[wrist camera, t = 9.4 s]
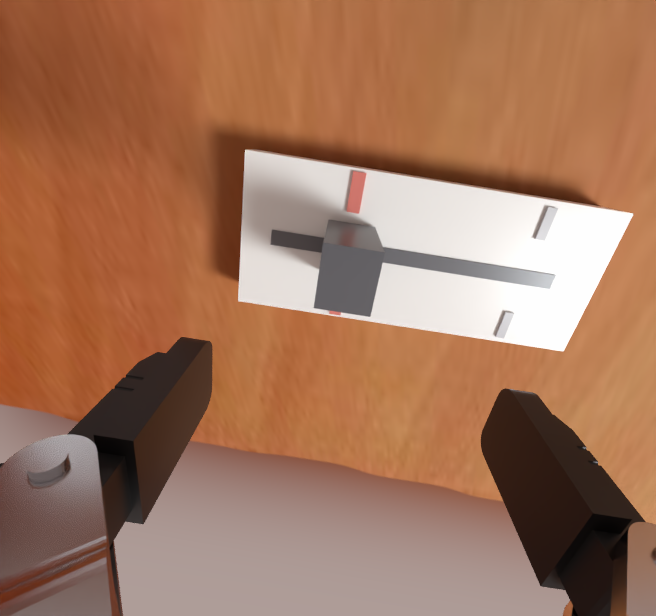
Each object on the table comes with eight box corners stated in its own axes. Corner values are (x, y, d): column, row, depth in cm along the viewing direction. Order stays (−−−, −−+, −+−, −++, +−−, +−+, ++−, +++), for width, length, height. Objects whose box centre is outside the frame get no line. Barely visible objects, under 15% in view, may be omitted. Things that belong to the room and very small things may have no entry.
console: (600, 206, 24) (636, 214, 21) (542, 331, 28) (564, 352, 25) (256, 149, 24) (244, 149, 21) (248, 286, 28) (237, 302, 25)
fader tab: (375, 227, 22) (384, 252, 17) (364, 278, 24) (370, 316, 18) (328, 219, 22) (323, 242, 17) (320, 271, 24) (313, 308, 18)
